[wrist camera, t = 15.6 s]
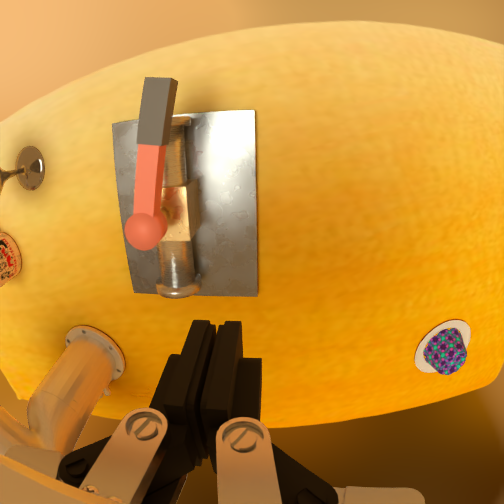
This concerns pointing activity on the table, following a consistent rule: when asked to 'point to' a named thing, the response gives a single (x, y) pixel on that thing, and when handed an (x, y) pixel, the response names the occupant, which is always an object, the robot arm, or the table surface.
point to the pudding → (444, 348)
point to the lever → (151, 163)
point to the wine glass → (26, 169)
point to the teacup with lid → (8, 259)
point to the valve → (197, 206)
